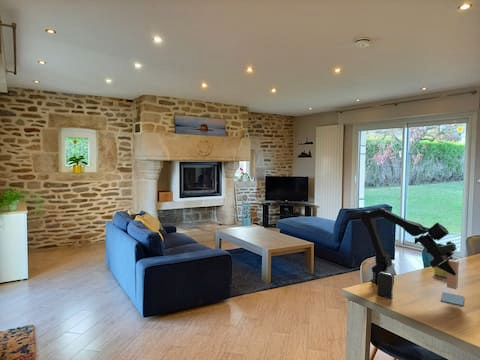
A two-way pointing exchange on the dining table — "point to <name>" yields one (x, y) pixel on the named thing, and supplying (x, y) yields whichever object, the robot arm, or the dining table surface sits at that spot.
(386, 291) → the battery charger
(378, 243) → the robot arm
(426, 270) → the dining table surface
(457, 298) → the mat
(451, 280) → the block
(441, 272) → the chocolate bunny
